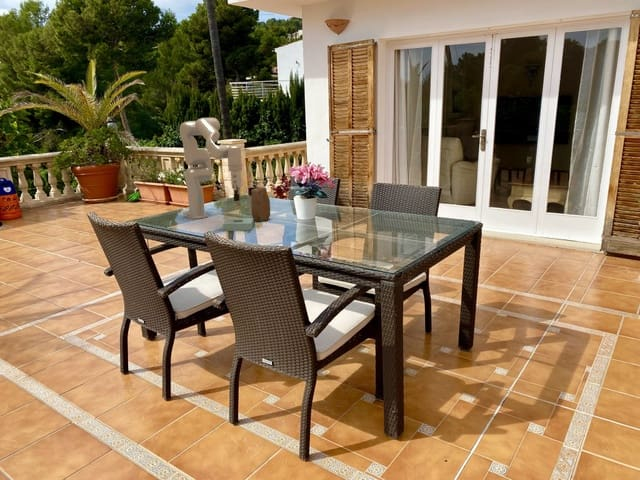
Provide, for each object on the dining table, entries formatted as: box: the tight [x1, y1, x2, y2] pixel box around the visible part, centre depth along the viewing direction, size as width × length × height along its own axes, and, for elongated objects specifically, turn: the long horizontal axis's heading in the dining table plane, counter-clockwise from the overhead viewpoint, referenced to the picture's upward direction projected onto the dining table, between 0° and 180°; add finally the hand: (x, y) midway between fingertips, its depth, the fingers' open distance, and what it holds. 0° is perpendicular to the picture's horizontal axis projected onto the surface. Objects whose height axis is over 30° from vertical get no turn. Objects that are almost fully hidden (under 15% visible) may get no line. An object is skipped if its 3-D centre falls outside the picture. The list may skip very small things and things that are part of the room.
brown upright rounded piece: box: [251, 186, 271, 223], centre depth 302 cm, size 11×8×20 cm
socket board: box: [222, 217, 255, 232], centre depth 286 cm, size 16×14×4 cm
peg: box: [232, 188, 242, 207], centre depth 282 cm, size 4×4×10 cm
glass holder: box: [247, 186, 268, 212], centre depth 331 cm, size 9×14×15 cm, turn 70°
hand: (237, 199), depth 282 cm, fingers closed on peg, 3 cm apart
